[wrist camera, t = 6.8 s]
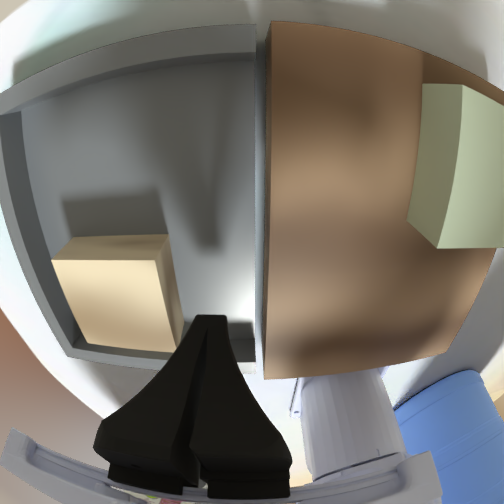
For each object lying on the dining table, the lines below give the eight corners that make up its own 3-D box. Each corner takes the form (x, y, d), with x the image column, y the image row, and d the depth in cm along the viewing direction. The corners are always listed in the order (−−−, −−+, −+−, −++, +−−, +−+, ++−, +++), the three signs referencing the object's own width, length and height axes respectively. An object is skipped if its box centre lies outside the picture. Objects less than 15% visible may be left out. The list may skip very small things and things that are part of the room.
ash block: (87, 342, 14) (101, 316, 16) (177, 352, 14) (184, 322, 16) (51, 259, 11) (73, 237, 13) (155, 260, 11) (168, 234, 13)
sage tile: (486, 225, 11) (514, 247, 8) (406, 220, 11) (436, 248, 8) (504, 119, 8) (539, 129, 5) (422, 83, 8) (462, 84, 5)
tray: (254, 344, 18) (255, 373, 16) (79, 333, 18) (67, 356, 16) (254, 39, 9) (255, 24, 7) (14, 97, 9) (-14, 102, 7)
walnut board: (430, 326, 18) (445, 352, 16) (261, 344, 18) (264, 379, 16) (489, 97, 10) (522, 104, 7) (265, 40, 9) (271, 20, 7)
